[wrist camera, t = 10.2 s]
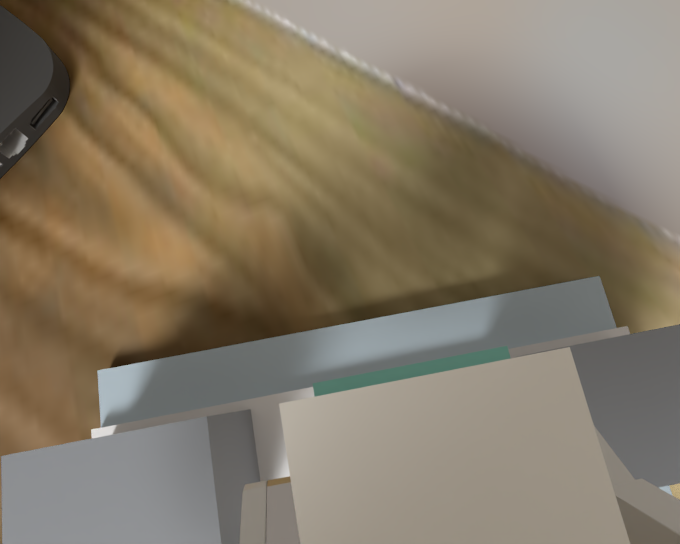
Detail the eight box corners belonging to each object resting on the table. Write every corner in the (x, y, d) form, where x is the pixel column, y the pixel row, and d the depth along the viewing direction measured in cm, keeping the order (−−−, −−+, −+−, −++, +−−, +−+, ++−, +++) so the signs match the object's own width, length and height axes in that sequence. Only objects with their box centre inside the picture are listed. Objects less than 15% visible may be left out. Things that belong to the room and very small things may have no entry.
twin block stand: (108, 371, 27) (-29, 358, 17) (588, 280, 28) (722, 218, 18) (124, 611, 24) (-30, 764, 14) (660, 500, 25) (866, 569, 15)
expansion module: (315, 392, 16) (276, 386, 7) (447, 366, 16) (564, 331, 7) (345, 566, 15) (340, 815, 6) (488, 536, 15) (688, 736, 6)
